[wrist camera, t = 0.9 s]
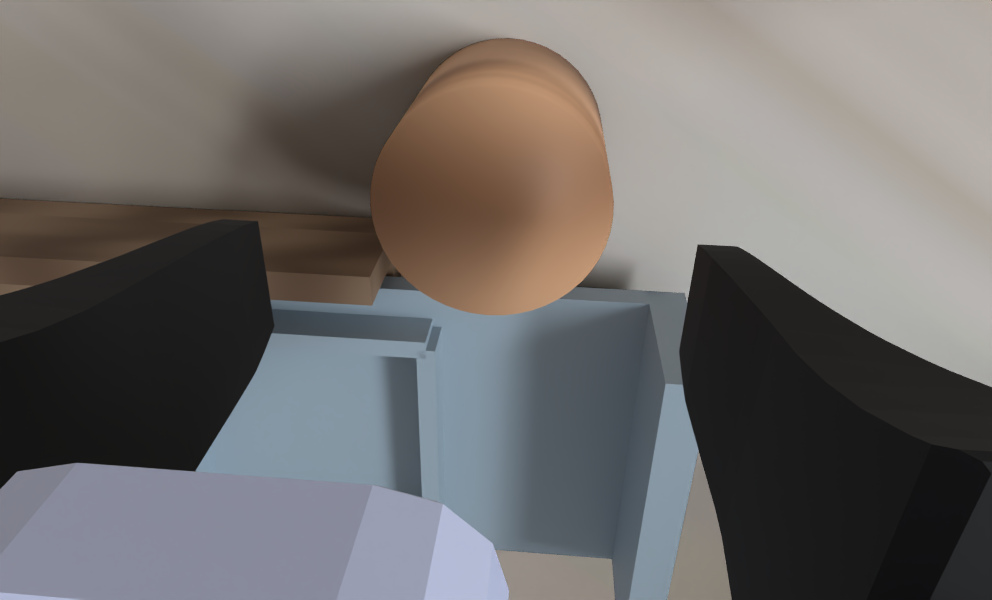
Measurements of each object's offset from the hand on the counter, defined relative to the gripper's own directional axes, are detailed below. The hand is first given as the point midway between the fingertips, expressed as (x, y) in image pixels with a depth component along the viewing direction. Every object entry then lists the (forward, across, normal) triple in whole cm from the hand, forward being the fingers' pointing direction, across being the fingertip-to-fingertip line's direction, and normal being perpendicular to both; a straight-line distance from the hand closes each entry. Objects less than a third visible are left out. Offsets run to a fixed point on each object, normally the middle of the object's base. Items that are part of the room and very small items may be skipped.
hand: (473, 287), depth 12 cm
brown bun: (+8, 0, 0) cm, 8 cm away
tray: (+7, +2, +9) cm, 11 cm away
